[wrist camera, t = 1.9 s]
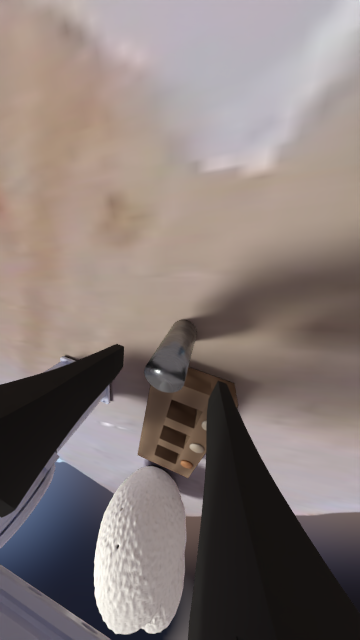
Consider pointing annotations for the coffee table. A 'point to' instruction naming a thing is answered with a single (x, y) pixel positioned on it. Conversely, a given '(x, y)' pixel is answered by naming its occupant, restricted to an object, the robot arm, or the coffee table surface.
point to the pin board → (179, 423)
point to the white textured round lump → (141, 554)
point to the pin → (172, 358)
